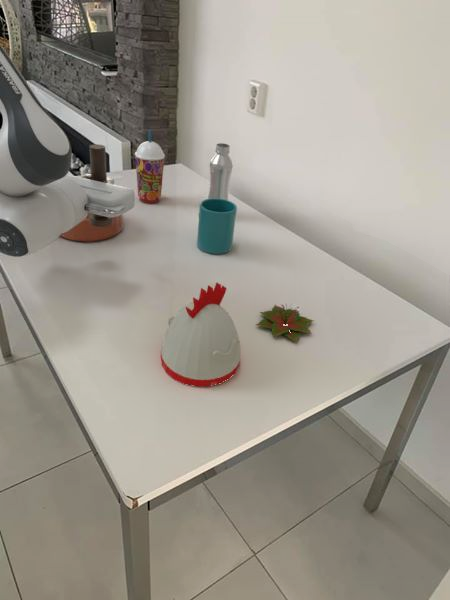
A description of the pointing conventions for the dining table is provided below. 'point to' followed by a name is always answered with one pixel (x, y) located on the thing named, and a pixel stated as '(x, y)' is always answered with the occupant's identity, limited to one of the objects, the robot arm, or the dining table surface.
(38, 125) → the robot arm
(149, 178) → the smoothie
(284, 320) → the green leafy plant
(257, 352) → the dining table surface
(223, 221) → the cup
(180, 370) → the kitchen timer
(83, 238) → the bowl
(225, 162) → the silver bottle
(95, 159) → the masher
